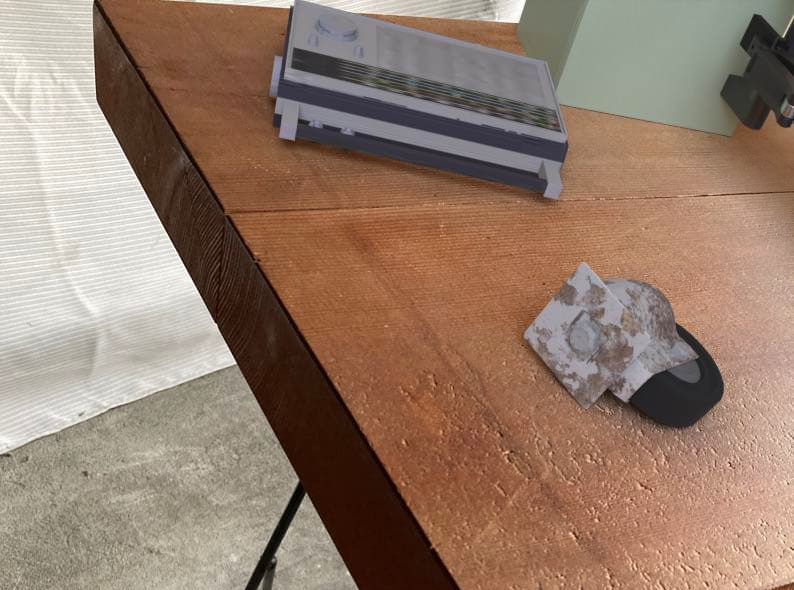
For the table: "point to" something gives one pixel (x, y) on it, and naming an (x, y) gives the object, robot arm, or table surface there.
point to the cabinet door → (669, 61)
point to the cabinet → (548, 30)
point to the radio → (418, 99)
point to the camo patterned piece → (625, 348)
